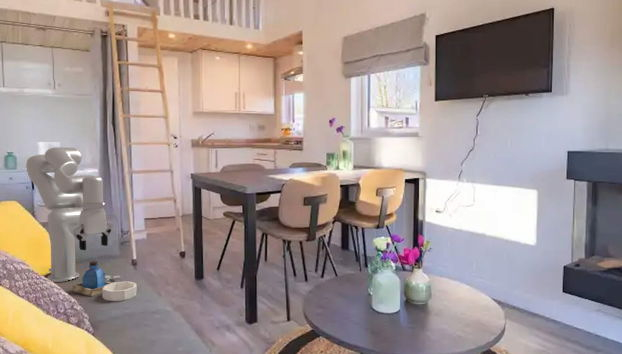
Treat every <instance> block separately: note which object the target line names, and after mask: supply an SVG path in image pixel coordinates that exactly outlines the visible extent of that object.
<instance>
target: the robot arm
mask: <svg viewBox="0 0 622 354" xmlns="http://www.w3.org/2000/svg"><path fill="white" fill-rule="evenodd" d="M81 162H82V154H81V152H80V150H78V149H77V148H75V147H64V146H63V147H62V146H61V147H58V146H57V147H56V146H55V147H51V148H48V149H46V151H45V152H44V154H37V155H36V154H35V155H33V156H30V157H28V158H27V160H26V165H25V166H26V172H27V175H28V177H29V178H30V180H31V182H32V183H33V184H34V185H35V187H36V189H37V191H38V193H39V196H40V198H41V201H42V202H43V204H44V206H45V208H46V209H47V210H48V211H50V212H49V213H48V214H47V224H48V229H49V235H50V237H49V238H50V268H48V271H49V272H50V274H49V275H48V276H47V278H48V279H50V280H52V281H53V283H60V282H61V283H62V282H69V281H68V280H70V281H73V280H72V279H74V280H76V279H78V278H79V277H80V273H79V272H77V271H76V239H77V240H78V241H79V242H78V245H79V250H80V251H81V250H82V251H86V250H87V241H86V238H87V236H93V235H99V234H101V236H100V243H101V244H100V245H101V246H105V247H107V246H108V245H109V244H108V243H109V241H108V239H109V238H108V237H109V236H110V234H111V232H112V230H113V227H114V225H113V224H112V223H109V222H108V221H107V213H106V210H105V208H104V207H105V206H106V203H105V202H104V184H103V183H104V180H103V178H102V177H101V176H95V175H90V174H89V175H88V174H86V175H83V174H82V175H75V174H76V173H77V172H78V169H79V168H78V167H79V165H80V164H81ZM48 173H49V174H48ZM52 173H54V174H53V176H51V175H50V174H52ZM70 230H72V233H73V234H72V233H71V232H70ZM75 238H76V239H75ZM77 277H78V278H77ZM47 278H46V279H47ZM75 278H76V279H75Z"/></svg>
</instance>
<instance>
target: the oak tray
mask: <svg viewBox="0 0 622 354" xmlns="http://www.w3.org/2000/svg"><path fill="white" fill-rule="evenodd" d="M111 283H112V282H110V281H108V282H107V281H105V285H108V284H111ZM103 288H104V286H103V287H99V288H96V289H93V290H92V289H89V288H85V287H83V281H82V282H80V283H76V284H73V285H72V291H73V292H75V293H79V294H82V295H86V296H89V297H95V296H98V295H101V294H100V293H102V294H103ZM97 294H98V295H97ZM94 295H95V296H94Z"/></svg>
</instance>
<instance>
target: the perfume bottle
mask: <svg viewBox="0 0 622 354" xmlns="http://www.w3.org/2000/svg"><path fill="white" fill-rule="evenodd" d="M88 268H89V269H88V270H85V273H84V275H83V276H82V282H83V287H85V288H89V289H92V290H93V289H96V288H99V287H103V286H105V275H106V272H104V271H103V269H102V268H99V263H98V260H93V261H90V262H89V265H88Z"/></svg>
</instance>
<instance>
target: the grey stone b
mask: <svg viewBox="0 0 622 354" xmlns="http://www.w3.org/2000/svg"><path fill="white" fill-rule="evenodd" d="M112 279H113V280H114V281H115V282H117V281H116V280H120V281H121V274H120V275H113V278H112ZM114 281H113V282H114Z"/></svg>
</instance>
